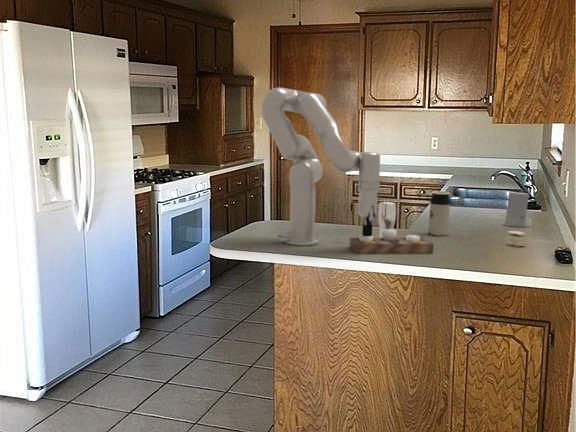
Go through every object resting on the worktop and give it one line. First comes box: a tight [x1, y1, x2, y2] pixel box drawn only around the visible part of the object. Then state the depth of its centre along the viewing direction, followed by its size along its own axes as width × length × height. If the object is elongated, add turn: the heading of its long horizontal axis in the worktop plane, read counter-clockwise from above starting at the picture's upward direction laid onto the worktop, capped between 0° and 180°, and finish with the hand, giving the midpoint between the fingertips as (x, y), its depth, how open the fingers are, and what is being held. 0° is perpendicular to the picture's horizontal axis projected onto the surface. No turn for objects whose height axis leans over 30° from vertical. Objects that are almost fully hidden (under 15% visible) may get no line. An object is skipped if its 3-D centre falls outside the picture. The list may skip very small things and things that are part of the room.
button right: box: [405, 234, 421, 241], centre depth 237 cm, size 5×5×4 cm
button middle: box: [383, 228, 398, 241], centre depth 235 cm, size 5×5×4 cm
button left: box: [358, 234, 374, 241], centre depth 234 cm, size 5×5×4 cm
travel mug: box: [428, 190, 451, 236], centre depth 269 cm, size 8×8×18 cm
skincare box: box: [504, 191, 530, 228], centre depth 297 cm, size 8×7×16 cm
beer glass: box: [377, 201, 397, 238], centre depth 252 cm, size 7×7×15 cm
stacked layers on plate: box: [506, 230, 527, 247], centre depth 250 cm, size 10×9×6 cm
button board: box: [349, 237, 434, 255], centre depth 234 cm, size 28×12×4 cm, turn 98°
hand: (367, 235), depth 234 cm, fingers closed
